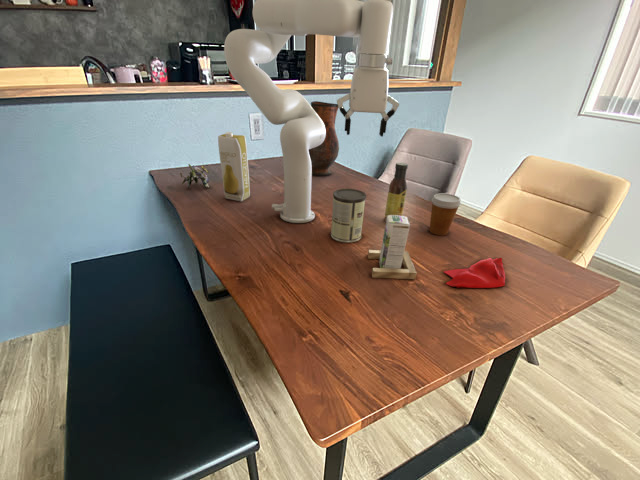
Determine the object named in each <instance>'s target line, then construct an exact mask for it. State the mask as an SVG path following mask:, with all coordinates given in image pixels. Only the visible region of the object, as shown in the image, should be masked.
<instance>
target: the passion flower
mask: <svg viewBox="0 0 640 480" xmlns="http://www.w3.org/2000/svg"><path fill="white" fill-rule="evenodd" d="M188 167H189V168H190V170H191V171H189V173H188V174H189V175H187V176H184V175H183V173H182V172H179V175H180V177H181V178H184V179H183V181H182V183H181V185H184V184H185V183H186V182H187V189H189V188H190V186H191V185H192V183H193V182H194V183H195V184H198V183H199V179H200V180H201V182H202V185H203V186H204V188H207V189H210V186H209V182H210V181H209V180H210V179H209V178H208V177H209V176H208V175H207V174H210V172H209V170H208V169H207V168H206V167H205V165H201V168H199V167H198V166H197V165H193V164H192V165H191V164H190V163H188ZM206 173H207V174H206Z"/></svg>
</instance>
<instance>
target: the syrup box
mask: <svg viewBox="0 0 640 480" xmlns="http://www.w3.org/2000/svg"><path fill="white" fill-rule="evenodd" d="M410 228H411V223H410V221H409V218H408V216H405V215H402V216H399V215H388V216H387V220H386V221H385V226H384V232H383V235H382V236H383V237H382V242H381V248H380V250H381V253H380V259H378V265H379V268H388V269H402V266H403V263H402V260H403V256H404V251H406V246H407V242H408V238H409V232H410Z"/></svg>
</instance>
